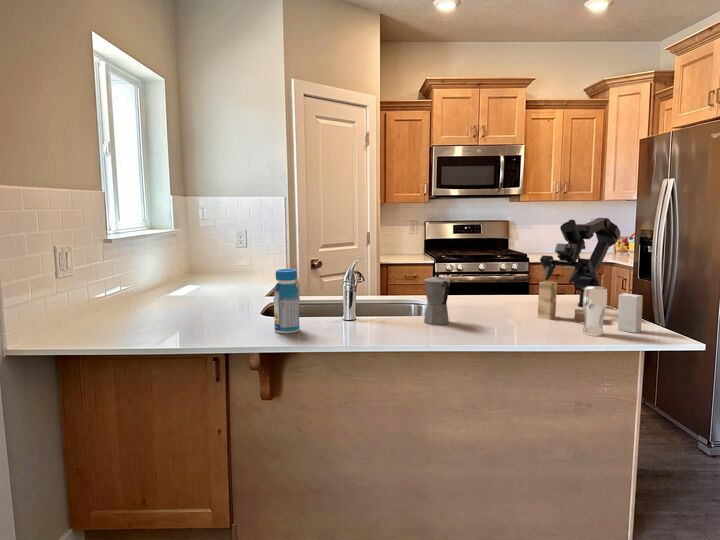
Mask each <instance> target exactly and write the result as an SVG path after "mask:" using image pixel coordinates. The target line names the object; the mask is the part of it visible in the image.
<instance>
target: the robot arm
mask: <svg viewBox="0 0 720 540" xmlns="http://www.w3.org/2000/svg"><path fill="white" fill-rule="evenodd" d="M559 229H560V231H561V235H562V236H563V238H564V240H565V241H566V242H567V243H560V242H559V243H556V245H555V249H554V252H555V253H556V254H557V258H558V259H555V258H554V257H553V255H541V257H540V259H539V261H540V264H541V265H542V267H543V269H544V270H545V273H544V274H545V276H544V279H545V281H548V280H549V279H550V277H551V276H552V274H553V273H554V272H555V268H556V267H557V266H559V267H561V266H562V267H564V268H573V271H572V273H571V276H569V280H568V284H572V283H573V284H574V291H579V302H578V303H577V306H578V307H582V308H583V295H584V287H586V286H598V287H602V285H601V283H600V279H599V276H598V272H599V270H600V268H601V265H602V263H603V261H604V259H605V257H606V255H607V252H608V250H609V248H610V247H612V246H614V245H615V244H616V243H617V242H618V240H619V239H620V238H621V230H620V228H619V227H618V225H617V224H615V223H613V222H612V221H611V219H610V218H607V217H597V218H596V219H594V220H591V221H589V222H586V223H576V220H575V219H569V220H568V221H565V222H564V223H562V224H561V225H560V228H559ZM594 234H595V235H596V239H597V242H596V245H595V247H594V249H593V251H592V252H591V255H590V257H589V258H583V257H581V256H580V254H581V253H582V250H586V245H585V244H586V242H585V240H590V239H592V238H593V237H594Z"/></svg>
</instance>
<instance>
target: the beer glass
mask: <svg viewBox="0 0 720 540" xmlns="http://www.w3.org/2000/svg"><path fill="white" fill-rule="evenodd" d="M607 305H608V288H607V287H603V286H601V287H598V286H586V287H584V295H583V307H582V309H583V310H584V319H585V323H583V329H582V334H583V333H584V334H583V335H587V336H590V335H591V337H602V336H603V335H604V328H603V324H604V323H603V322H604V318H605V314H606V309H607Z"/></svg>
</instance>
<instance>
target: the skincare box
mask: <svg viewBox="0 0 720 540" xmlns="http://www.w3.org/2000/svg"><path fill="white" fill-rule="evenodd" d="M643 298H644V297H643V295H640V294H633V293H624V292H623V293H620V294H618V307H617V310H618V313H617V330H618V331H623V332H629V333H633V334H638V333H640V332H641V331H642V319H643Z"/></svg>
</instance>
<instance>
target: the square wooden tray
mask: <svg viewBox="0 0 720 540" xmlns="http://www.w3.org/2000/svg"><path fill="white" fill-rule="evenodd" d="M574 320H575V321H574V323H580V322H585V319H584V310H583V308H574Z"/></svg>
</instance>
